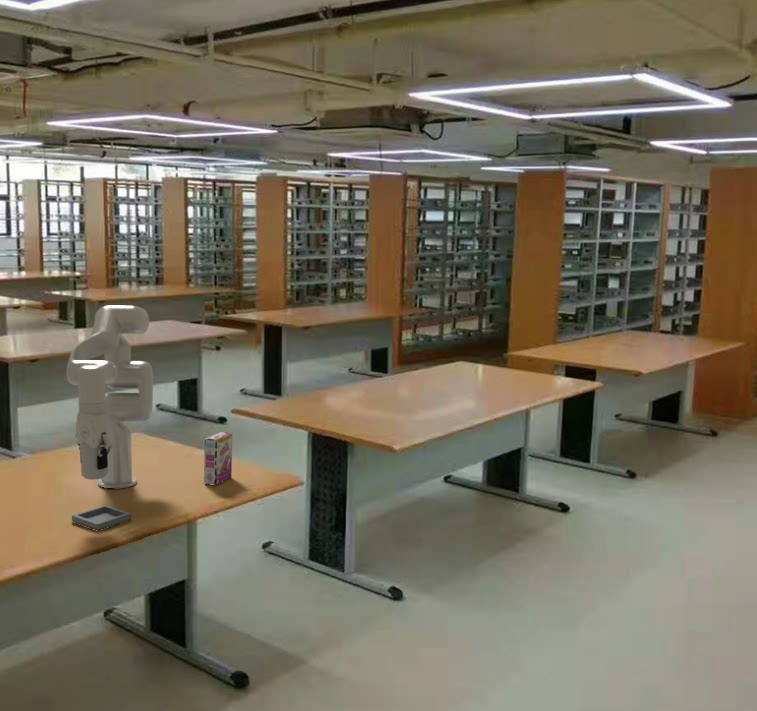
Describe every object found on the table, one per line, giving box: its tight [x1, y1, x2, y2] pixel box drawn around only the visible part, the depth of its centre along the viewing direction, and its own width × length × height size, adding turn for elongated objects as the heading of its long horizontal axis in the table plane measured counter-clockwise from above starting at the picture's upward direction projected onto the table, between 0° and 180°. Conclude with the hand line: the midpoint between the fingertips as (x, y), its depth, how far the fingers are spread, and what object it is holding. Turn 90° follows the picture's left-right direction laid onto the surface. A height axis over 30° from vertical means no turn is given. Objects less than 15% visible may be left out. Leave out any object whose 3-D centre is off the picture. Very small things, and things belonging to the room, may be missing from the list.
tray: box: [71, 504, 132, 532], centre depth 249 cm, size 12×12×2 cm
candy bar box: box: [203, 431, 233, 486], centre depth 290 cm, size 11×5×16 cm, turn 161°
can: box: [80, 440, 108, 481], centre depth 246 cm, size 8×8×12 cm
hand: (94, 465), depth 246 cm, fingers closed on can, 7 cm apart
